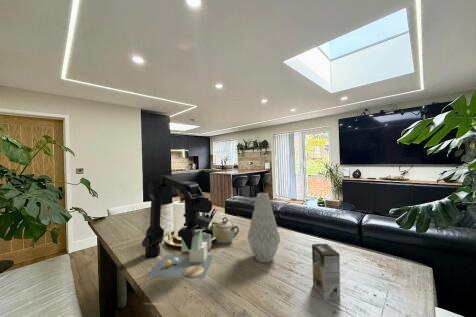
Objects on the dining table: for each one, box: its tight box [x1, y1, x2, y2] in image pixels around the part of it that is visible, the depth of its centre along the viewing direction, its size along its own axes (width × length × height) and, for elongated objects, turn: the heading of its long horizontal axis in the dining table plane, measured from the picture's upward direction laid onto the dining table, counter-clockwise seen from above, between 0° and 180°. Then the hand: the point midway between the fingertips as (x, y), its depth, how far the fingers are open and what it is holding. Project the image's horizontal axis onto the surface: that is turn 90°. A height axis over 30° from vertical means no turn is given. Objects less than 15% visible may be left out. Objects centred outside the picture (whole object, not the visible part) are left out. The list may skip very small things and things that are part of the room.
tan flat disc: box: [183, 266, 204, 277], centre depth 90 cm, size 9×9×1 cm
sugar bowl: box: [211, 216, 240, 244], centre depth 125 cm, size 20×15×15 cm
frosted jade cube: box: [180, 228, 203, 252], centre depth 90 cm, size 7×7×7 cm
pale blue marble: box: [173, 257, 179, 264], centre depth 97 cm, size 3×3×3 cm
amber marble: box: [165, 260, 172, 267], centre depth 95 cm, size 3×3×3 cm
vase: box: [246, 192, 281, 263], centre depth 103 cm, size 17×17×33 cm
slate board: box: [144, 253, 215, 280], centre depth 96 cm, size 26×21×1 cm
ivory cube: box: [188, 242, 208, 262], centre depth 102 cm, size 7×7×7 cm
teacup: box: [202, 232, 212, 252], centre depth 114 cm, size 14×11×8 cm
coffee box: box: [311, 243, 341, 300], centre depth 76 cm, size 9×6×16 cm
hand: (192, 245), depth 90 cm, fingers closed on frosted jade cube, 7 cm apart
